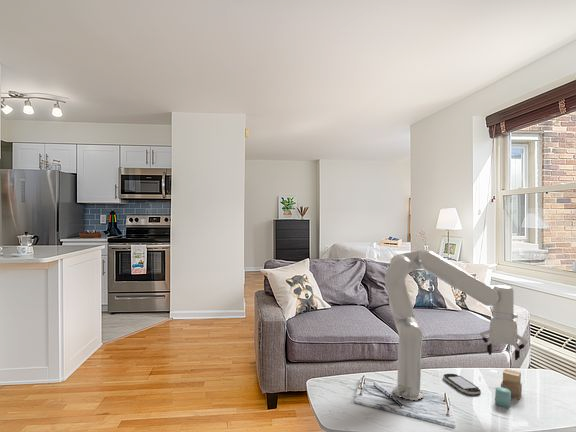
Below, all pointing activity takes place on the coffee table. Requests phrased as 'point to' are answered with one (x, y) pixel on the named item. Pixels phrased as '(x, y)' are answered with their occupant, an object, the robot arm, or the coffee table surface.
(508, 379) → the tower top
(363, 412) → the coffee table surface
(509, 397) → the teal rounded tapered object
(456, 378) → the gaming console
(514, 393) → the tower bottom
